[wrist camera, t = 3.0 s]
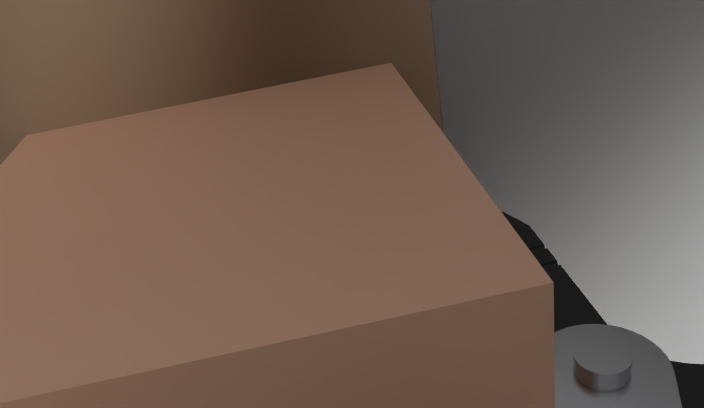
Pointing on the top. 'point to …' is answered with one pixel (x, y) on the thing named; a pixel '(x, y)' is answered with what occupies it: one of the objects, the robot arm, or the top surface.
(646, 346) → the robot arm
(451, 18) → the top surface
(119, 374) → the sleeve
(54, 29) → the post board
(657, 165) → the top surface
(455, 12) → the top surface
